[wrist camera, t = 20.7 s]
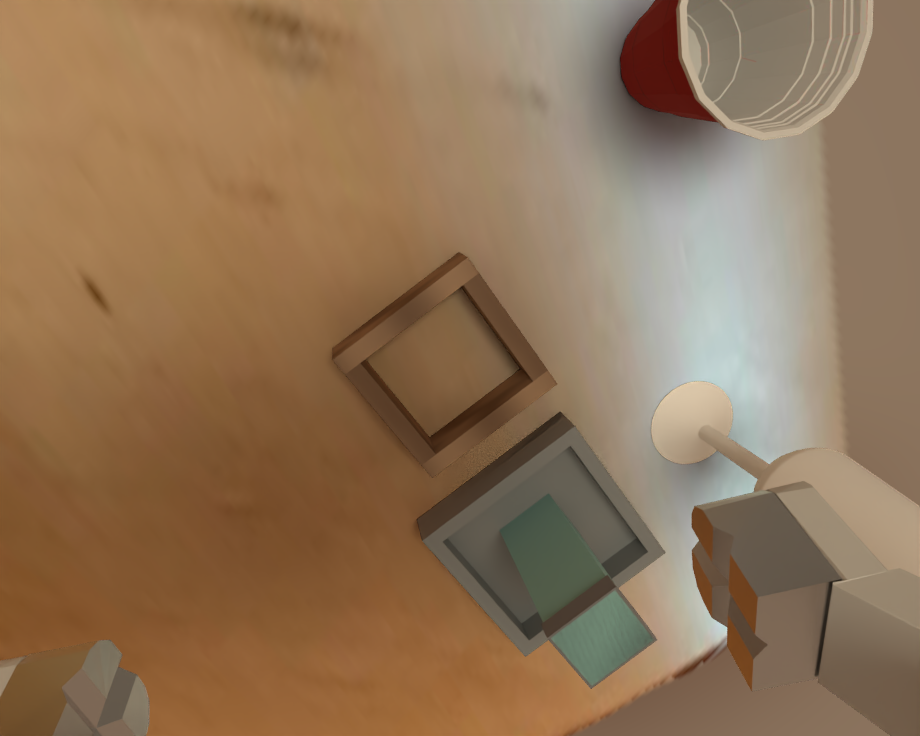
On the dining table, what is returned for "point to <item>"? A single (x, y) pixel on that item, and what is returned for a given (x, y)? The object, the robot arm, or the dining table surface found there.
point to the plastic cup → (747, 60)
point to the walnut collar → (479, 416)
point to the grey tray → (510, 494)
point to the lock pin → (574, 593)
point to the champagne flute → (793, 472)
